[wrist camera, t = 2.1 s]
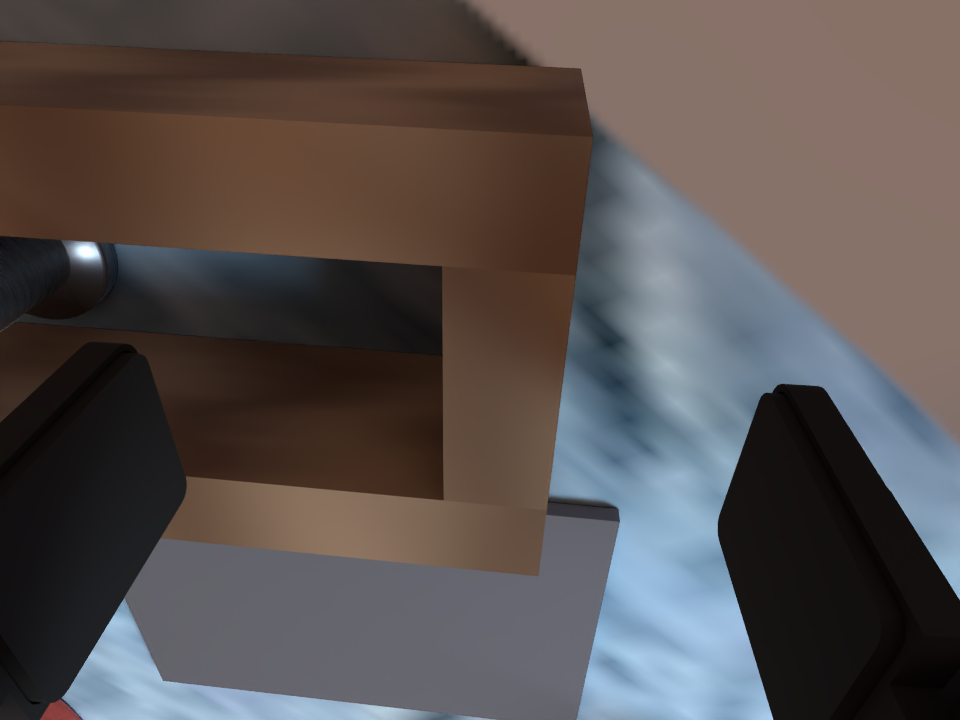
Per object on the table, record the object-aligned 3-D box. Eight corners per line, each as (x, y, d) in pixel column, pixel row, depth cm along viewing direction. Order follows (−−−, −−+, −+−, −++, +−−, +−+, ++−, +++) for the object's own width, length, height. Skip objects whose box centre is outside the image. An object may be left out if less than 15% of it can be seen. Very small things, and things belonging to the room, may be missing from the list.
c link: (580, 68, 12) (593, 136, 8) (542, 424, 17) (538, 575, 13) (-112, 35, 13) (-409, 83, 9) (41, 381, 18) (-107, 511, 14)
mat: (618, 508, 19) (619, 521, 19) (574, 715, 26) (574, 728, 25) (75, 458, 20) (65, 469, 20) (169, 669, 27) (163, 680, 26)
